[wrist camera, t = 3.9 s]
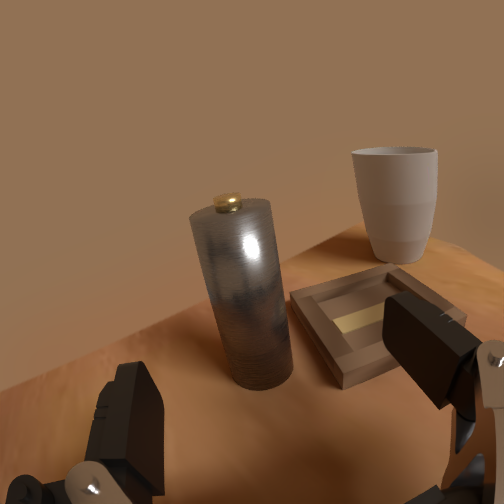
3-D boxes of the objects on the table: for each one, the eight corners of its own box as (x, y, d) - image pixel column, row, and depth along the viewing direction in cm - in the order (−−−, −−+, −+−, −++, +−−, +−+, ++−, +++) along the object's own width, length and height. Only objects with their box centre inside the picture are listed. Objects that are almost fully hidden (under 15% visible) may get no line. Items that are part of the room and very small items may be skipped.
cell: (237, 397, 14) (184, 214, 11) (228, 356, 18) (186, 198, 14) (301, 379, 15) (277, 193, 11) (283, 342, 18) (258, 183, 15)
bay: (342, 389, 14) (343, 373, 13) (291, 306, 22) (289, 292, 21) (463, 331, 15) (467, 315, 14) (390, 276, 23) (391, 262, 22)
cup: (430, 238, 28) (428, 146, 25) (443, 272, 21) (446, 154, 18) (361, 238, 32) (354, 148, 28) (355, 271, 25) (347, 156, 21)
